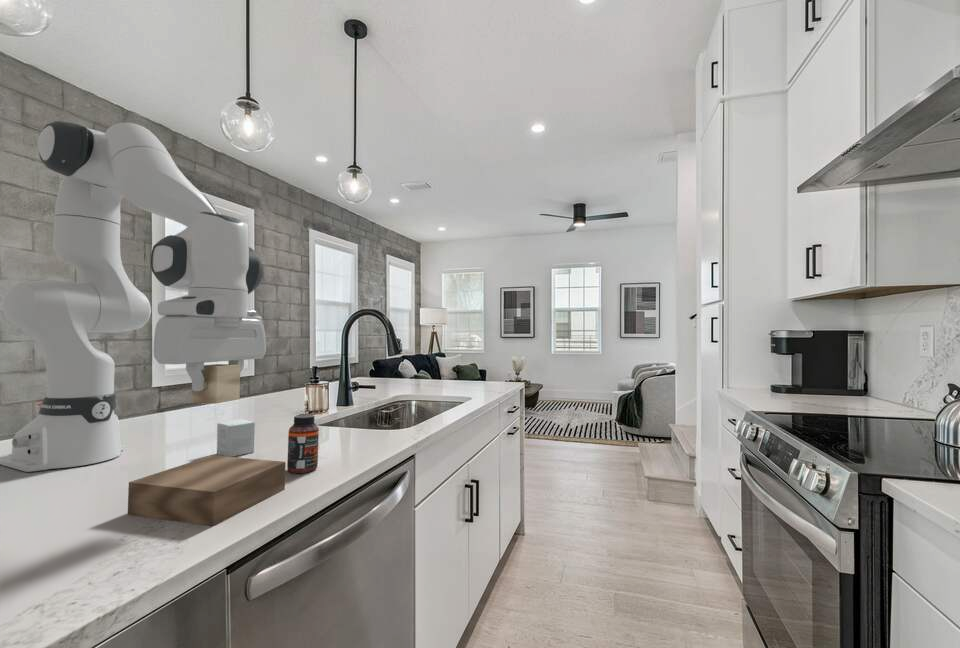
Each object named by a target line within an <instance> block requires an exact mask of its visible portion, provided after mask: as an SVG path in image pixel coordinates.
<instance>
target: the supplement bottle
mask: <svg viewBox="0 0 960 648" xmlns="http://www.w3.org/2000/svg"><path fill="white" fill-rule="evenodd" d="M315 421H316V420H315V415H314V414H308V413H307V414H305V413H304V414H303V413H302V414H297V415H294V417H293V424H292V425H291V426H290V427H289V429H288V437H287V438H288V439H287V441H288V442H287V460H286V461H287V465H286V467H287V471H288V472H289V473H293V474H306V473H311V472H313V471H315V470H317V468H318V464H319V460H318V458H319V437H320V436H319V435H320V433H319V432H320V431H319V430H320V429H319V426H318V425H317V424H316V422H315Z"/></svg>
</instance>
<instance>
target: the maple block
mask: <svg viewBox="0 0 960 648" xmlns="http://www.w3.org/2000/svg"><path fill="white" fill-rule="evenodd" d="M201 372H202V374H203V377H204V379H209V380H208V389H207V390H203V391H193V390H192V389H191V396H190V398H191V401H190V402H191V403H203V404H204V403H205V404H221V403H226V402H227V403H228V402H231V401H237V400H240V398H241V397H240V395H241V394H240V393H241V392H240V390H241V373H240V365H228V363H227V364H222V363H220V364H219V363H215V364H214V363H213V364H204V369H202V370H201Z"/></svg>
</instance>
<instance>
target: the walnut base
mask: <svg viewBox="0 0 960 648" xmlns="http://www.w3.org/2000/svg"><path fill="white" fill-rule="evenodd" d="M285 488H286V461H281V460H280V461H279V460H278V461H277V460H271V459H270V460H269V459H260V458H258V459H257V458H246V457H238V456H234V457H227V456H223V455H215V454H213V455H209V456H206V457H203V458H199V459H196V460H194V461H191V462H188V463H184V464H182V465H178V466H175V467H172V468H169V469H165V470H162V471H159V472H157V473H153V474H149V475H147V476H144V477H141V478H138V479H134V480H131V481H128V492H127V493H128V494H127V497H128V498H127V515H128V516H129V515H130V516H137V517H144V518H150V519H158V520H165V521H173V522H180V523H189V524H193V525H194V524H196V525H203V526H209V527H215V526H216V525H219V524H220V523H222V522H224V521H226V520H228V519H231V518H232V517H234V516H236V515H238V514H240V513H241V512H243V511H245V510H247V509H249V508H251V507H253V506H255V505H257V504H260V503H261V502H262V501H266V500H267V499H269V498H271V497H273V496H274V495H277V494H279V493H280V492H282V491H284V490H285Z"/></svg>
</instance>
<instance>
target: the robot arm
mask: <svg viewBox="0 0 960 648" xmlns="http://www.w3.org/2000/svg"><path fill="white" fill-rule="evenodd" d="M37 149H38V155H39V159H40V160H41V162H42V163H43V165H44V167H46V168H47V169H49V170H51V171H53V172H55V173H58V174H60V175H62V179H61V182H60V183H59V188H58V191H57V195H56V199H55V206H54V207H55V208H54V218H53V219H54V220H53V240H52V249H53V252H54V253H55V256H56V257H58V258H59V260H60V261H63V262H64V263H66V264H67V265H69V266H72V268H74V269H75V270H76V271H77V272H78V274H79V275H80V278H81V281H82V282H75V281H65V280H64V281H63V280H53V279H40V280H39V279H38V280H25V281H18V282H16V283H14V285H12V286H11V287H10V288H9V289H8V290H7V291H6V293H5V295H4V296H3V298H2V299H3V300H2V305H1V306H2V307H1V308H2V312H3V314H4V317H5V318H6V319H7V321H8V322H9V323H10V324H11V325H13V326H14V327H16V328H17V329H19V330H20V331H22V332H24V333H25V334H27V335H28V336H29V337H30V338H31V339H32V340H33V341H34V342H35V344H36V345H37V346H38V348H39V349H40V350H41V352H42V355H43V358H44V362H45V369H46V396H45V397H44V398H43V399H38V400H37V402H40V403H37V406H40V408H39V410H38V414H39V415H37V416H36V417H35V418H34V419H33V420H31V422H29V423H27V424H26V425H25V426H23V427H22V428H21V429H20V430H18V431H17V432H16V433H15V434H14V436H13V438H12V440H11V444H12V445H11V446H12V447H11V448H12V449H11V453H8V454H5V455H2V456H0V465H2V466H5V467H8V468H12V469H15V470H18V471H23V472H25V473H27V472H28V473H29V472H30V473H31V472H39V471H45V470H52V469H62V468H63V469H65V468H73V467H80V466H86V465H92V464H97V463H102V462H105V461H109V460H111V459H112V460H113V459H115V458H117V457H119V456H121V454H122V451H124V450H125V445H124V444H121V435H120V424H119V417H118V415H117V414H115V409H116V408H117V402H118V401H117V400H118V399H117V393H115V372H116V370H115V367H116V363H115V361H114V359H113V358H112V357H111V356H110V355H109V353H106V352H104V351H102V350H100V349H98V348H94V347H95V346H93V345H92V343H91V341H90V339H89V335H88V333H103V334H104V333H105V334H106V333H111V334H113V333H114V334H118V333H125V332H130V331H135V330H140V329H142V328H143V327H144V326H145V325H146V324H147V323H148V321H149V320H150V317H151V314H152V306H151V303H150V301H149V299H148V297H147V296H146V295H145V294H144V293H143V292H142V291H141V290H139V289H138V288H137V286H135V285H134V283H133V282H132V281H131V279H130V278H129V276H128V274H127V273H126V271H125V268H124V265H123V262H122V257H121V255H122V254H121V226H122V225H121V220H122V219H121V204H122V203H121V202H122V200H123V198H125V199H126V200H127V201H128V202H129V203H130V204H132V205H133V206H135V207H137V208H138V209H141V210H142V211H145V212H148V213H151V214H153V215H157V216H160V217H163V218H166V219H169V220H170V221H174V222H176V223H179V224H180V225H183V226H185V227H186V228H184V229H183V230H181V231H180V232H178V233H176V234H174V235H173V234H171V235H167V236H165V237H163V238H161V239H159V240H158V242H156V243H155V244H154V245H153V247H152V248H151V249H152V250H151V253H150V254H151V255H150V270H151V272H152V273H153V275H154V277H155V278H156V279H157V281H158V282H160V283H161V285H163V286H165V287H169V288H172V289H177V290H185V291H187V294H186V295H182V296H179V297H175V298H171V299H168V300H167V299H166V300H163V301H159V302H158V304H157V313H158V315H159V316H162V317H160V318H159V319H158V321H157V322H156V324H155V329H154V337H153V357H154V359H155V361H156V362H157V363H158V364H159V365H184V364H185V370H186V372H187V374H188V376H189V378H190V380H191V391H192V390H193V391H203V390H207V389H208V380H209V379H204V377H203V374H202V372H201V370H202V369H204V365H205V363H214V362H215V363H216V362H228V363H227V364H228V365H240V374H241V373H242V371H243V368H244V367H245V361H246V360H248V361H249V360H262V359H263V358H264V357H265V355H266V353H267V344H266V343H267V341H266V340H267V339H266V330H265V326H264V323H263V318H262V317H263V316H261V315H260V314H259V313H258V311H257V310H254V309H250V310H249V309H248V303H249V301H248V299H249V294H251V293H252V292H254V291H255V290H256V289H257V288H258V287H259V285H260V284H261V282H262V279H263V276H264V268H263V267H264V266H263V264H262V260H261V259H260V257H259V255H258V254H257V252H256V251H255V250H254V249H253V248H252V247H250V246H249V238H248V231H247V227H246V225H245V223H244V222H243V221H241V220H240V219H238V218H235V217H233V216H229V215H224V214H222V213H221V212H220V210H219V209H218V208H217V207H216V206H215V205H214V203H213V202H212V200H210V199H209V198H208V197H207V196H206V195H205V194H203V193H202V192H201V191H200V190H199V189H198V188H197V187H196V186H195V185H193V183H192V182H191V181H190V180H189V179H188V178H187V177H186V175H184V174H183V172H182V171H181V170H180V169H179V168H178V166H177V164H176V163H175V161H174V159H173V158H172V156H171V155H170V153H169V152H168V151H169V150H167V148H166V147H165V145H164V144H163V143H162V142H161V141H160V140H159V139H158V137H157V136H156V135H155V134H154V133H153V132H152V131H150V129H148V128H146V127H145V126H143V125H140V124H137V123H134V122H119V123H116V124H114V125H111V126H110V127H108V128H107V130H106V131H105V132H103V131H99V130H96V129H93V128H90V127H86V126H83V125H82V124H78V123H74V122H69V121H62V120H61V121H60V120H55V121H52V122H50V123H47V124H45V126H44V127H43V129H42V130H41V132H40V134H39V136H38V140H37Z"/></svg>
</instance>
